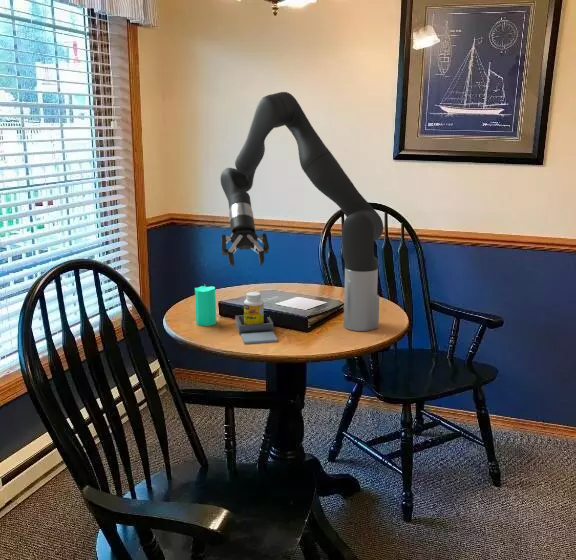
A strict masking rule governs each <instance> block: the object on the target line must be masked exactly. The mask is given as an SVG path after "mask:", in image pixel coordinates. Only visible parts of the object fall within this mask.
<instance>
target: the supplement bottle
mask: <svg viewBox="0 0 576 560" xmlns="http://www.w3.org/2000/svg"><path fill="white" fill-rule="evenodd" d="M264 314H265V313H264V300H263V299H262V296H261V292H258V291H250V292H247V293H246V298H245V300H244V301H243V315H244V324H243V325H247V324H263V323H264Z"/></svg>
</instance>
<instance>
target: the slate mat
mask: <svg viewBox="0 0 576 560" xmlns="http://www.w3.org/2000/svg"><path fill="white" fill-rule="evenodd" d="M240 337H241V340H242V342H243V344H244V345H249V344H263V343H265V344H266V343H277V342H278V337H277V335H276V334H275V332H260V333H246V334H240Z"/></svg>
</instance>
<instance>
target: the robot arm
mask: <svg viewBox="0 0 576 560" xmlns="http://www.w3.org/2000/svg"><path fill="white" fill-rule="evenodd" d="M257 103H258V104H257V106H256V108H255V111H254V115H253V118H252V121H251V124H250V127H249V131H248V133H247V137H246V139H245V141H244V143H243V145H242V147H241V149H240V151H239V153H238V155H237V156H236V159H235V160H234V165H235V168H234V167H233V168H232V167H226V168H224V169H223V170H222V171H221V175H220V185H221V188H222V190H223V193H224V194H225V197H226V199H227V201H228V209H229V213H228V215H229V225H230V234H231V235H230V236H229V235H226V234H222V235H221V239H220V241H221V254H222V256H227V257H228V264H229V266H230V265H231V267H233V268H234V267H235V257H234V256H235V255H234V254H235V253H236V251H238V249H239V251H240V250H241V251H242V250H252V251H253V252H255V253H256V254H257V256H258V263H259V266H263V264H265V254H266V255H267V254H269V250H270V245H269V241H268V236H267V233H265V232H264V233H262V235H261V234H260V235H258V234H257V233H256V227H255V217H254V211H253V209H252V201H251V195H250V194H249V191H250V190H251V189H252V188H253V185H254V179H255V174H256V170H257V168H258V167H259V165H260V164H261V162H262V160H263V158H264V155H265V151H266V149H265V148H266V147H265V145H266V144H265V140H266V138H267V137H268V135H269V134H270V133H271V132H272V131H273V130H274V129H276V128H280V127H284V126H285V127H286V128H287V129H288V130H289V132H291V134H292V135H293V137H294V139H295V141H296V144H297V151H298V158H299V164H300V167H301V169H302V171H303V173H305V175H306V177H307V178H308V179H309V180H310V183H312V185H313V186H314V187H315V188H316V189H317V190H318V191H319V192H320V193H322V194H323V195H324V196H326V197H327V198H328V199H329V200H331V201H332V202H333V203H334V204H336V205H337V206H338V207H339V209H340V210H341V211H342V213H343V214H344V215H345V217H346V218H345V219H344V221H343V225H342V230H341V232H342V233H341V235H342V237H341V240H342V242H341V243H342V245H341V246H342V248H341V249H342V250H341V251H342V258H343V261H344V291H343V292H344V293H343V294H344V298H343V300H344V302H343V327H344V328H345V329H348V330H350V331H354V332H355V331H356V332H367V331H373V330H374V329H379V325H380V323H379V321H380V295H379V294H378V277H379V276H378V275H379V259H378V258H377V257H376V256H375V253H374V252H375V250H374V249H375V248H374V245H375V244H374V242H376V241H377V240H379V239H380V238H381V237H382V235H383V233H384V222H383V220H382V217H381V215H380V214H379V213H378V212H377V210H376V209H374V208H373V206H372V205H371V204H370V203H369V202H368V201H367V200H366V199H365V197H364V196H363V195H362V194H361V193H360V192H359V190H358V189H357V188H356V187H355V185H354V183H353V182H352V180H351V179H350V178H349V176H348V174H347V173H346V172H345V171H344V169H343V168H342V166H341V164H340V163H339V162H338V160H337V159H336V157H335V156H334V155H333V154H332V152H331V151H330V150H329V148H328V147H327V146H326V145H325V143H324V142H323V140H322V138H320V136H319V135H318V133H317V132H316V130H315V129H314V127H313V125H312V124H311V123H310V120H309V119H308V116H307V115H306V114H305V112H304V110H303V108H302V107H301V105H300V103H299V102H298V100H297V99H296V98H295V97H294V95H292V94H291V93H289V92H287V91H281V92H275V93H271V94H267V95H265V96H263V97H261V99H260V100H259V101H258V102H257ZM258 241H259V242H260V243H262V246H261V245H260V244H259V242H258ZM229 242H231V243H232V244H231V246H230V247H229V248H227V245H228V243H229Z"/></svg>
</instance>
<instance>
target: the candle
mask: <svg viewBox="0 0 576 560" xmlns="http://www.w3.org/2000/svg"><path fill="white" fill-rule="evenodd" d="M194 302H195V303H194V304H195V305H194V306H195V323H196V324H195V325H197V326H201V327H207V326H214V325H215V324H217V309H216V307H217V306H216V304H217V303H216V302H217V301H216V287H215V286H206V285H201V286H198V287H194Z"/></svg>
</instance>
